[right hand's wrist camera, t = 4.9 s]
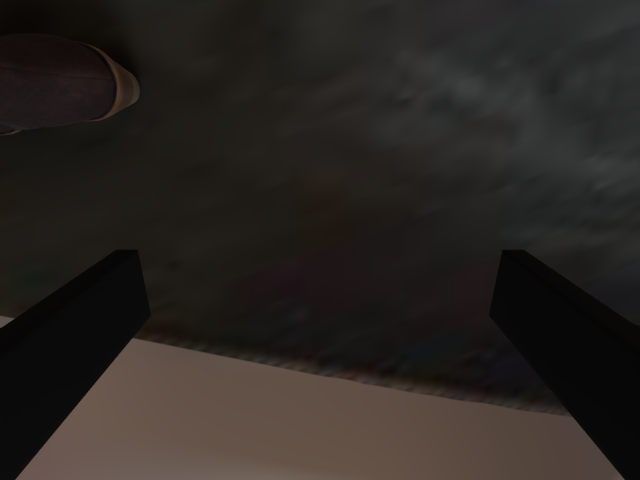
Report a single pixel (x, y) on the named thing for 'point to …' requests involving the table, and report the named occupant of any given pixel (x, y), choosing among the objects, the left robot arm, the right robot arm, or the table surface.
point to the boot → (58, 83)
